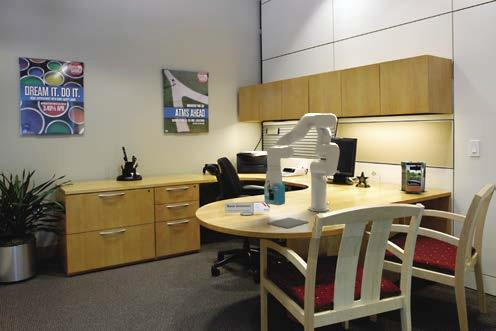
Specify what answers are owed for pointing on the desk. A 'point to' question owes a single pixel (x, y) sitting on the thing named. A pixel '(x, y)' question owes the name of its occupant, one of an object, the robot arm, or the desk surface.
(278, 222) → the desk mat
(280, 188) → the teal rounded box
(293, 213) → the desk surface
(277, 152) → the robot arm
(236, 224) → the desk surface
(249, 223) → the desk surface
